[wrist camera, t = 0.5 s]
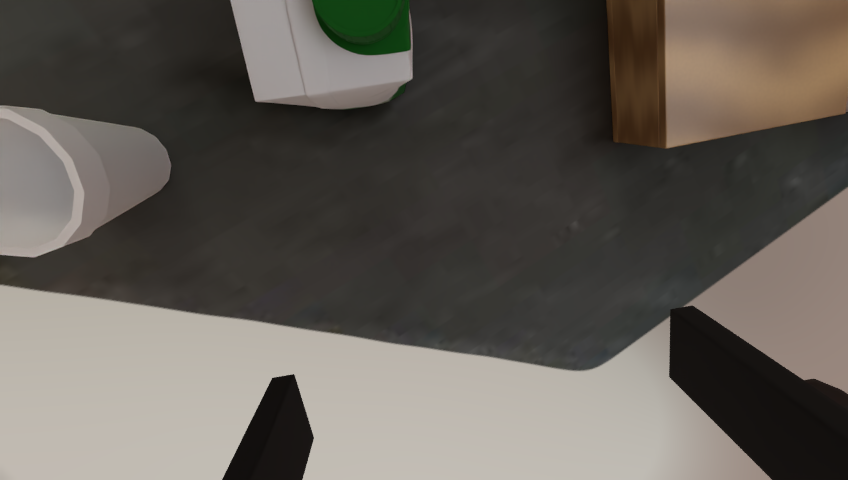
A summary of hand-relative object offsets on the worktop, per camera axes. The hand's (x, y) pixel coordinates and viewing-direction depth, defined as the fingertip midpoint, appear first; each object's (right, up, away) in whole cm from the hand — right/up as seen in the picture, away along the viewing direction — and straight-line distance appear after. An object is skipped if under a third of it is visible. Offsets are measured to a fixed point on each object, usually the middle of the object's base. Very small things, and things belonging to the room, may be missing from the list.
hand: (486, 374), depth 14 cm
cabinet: (+21, +23, +23) cm, 38 cm away
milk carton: (-8, +21, +22) cm, 31 cm away
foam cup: (-29, +12, +24) cm, 39 cm away
